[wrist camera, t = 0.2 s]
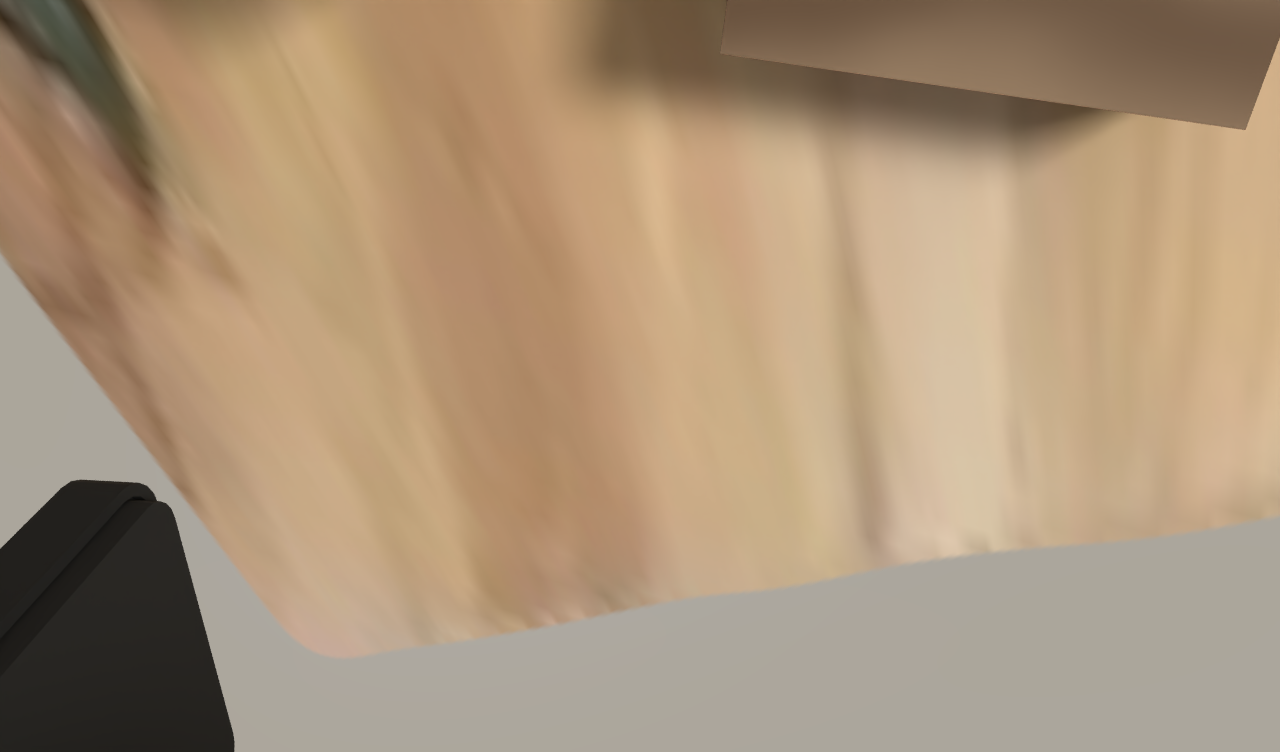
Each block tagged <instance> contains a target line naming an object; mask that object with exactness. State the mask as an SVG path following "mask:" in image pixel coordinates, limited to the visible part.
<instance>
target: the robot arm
mask: <svg viewBox="0 0 1280 752" xmlns="http://www.w3.org/2000/svg"><path fill="white" fill-rule="evenodd" d="M0 752H234V736H233V731H232V727H231V723H230V720H229V716H228V712H227V709H226V705H225V701H224V697H223V694H222V690H221V686H220V683H219V679H218V675H217V672H216V668H215V664H214V660H213V657H212V653H211V649H210V646H209V642H208V638H207V635H206V631H205V627H204V623H203V620H202V616H201V612H200V609H199V605H198V601H197V597H196V594H195V590H194V587H193V583H192V579H191V575H190V572H189V568H188V564H187V561H186V557H185V553H184V550H183V546H182V542H181V539H180V535H179V531H178V527H177V523H176V520H175V517H174V514H173V512H172V509H171V508H170V507H169V506H168V505H167V504H166V503H163V502H160V501H157V500H156V497H155V495H154V493H153V492H152V491H151V490H150V489H149V488H148V487H147V486H146V485H143V484H141V483H132V482H114V481H95V480H76V481H71V482H70V483H68V484H67V485H65V486H64V487H62V488H61V489H60V490H59V491H58V492H57V493H56V494H55V495H54V496H53V497H52V498H51V499H50V500H49V501H48V502H47V503H46V504H45V505H44V506H43V507H42V508H41V509H40V510H39V511H38V512H37V513H36V514H35V515H34V516H33V517H32V518H31V519H30V520H29V521H28V522H27V523H26V524H25V525H24V526H23V527H22V528H21V529H20V530H19V531H18V532H17V533H16V534H15V535H14V536H13V537H12V538H11V539H10V540H9V541H8V542H7V543H6V544H5V545H4V546H3V547H2V548H1V549H0Z"/></svg>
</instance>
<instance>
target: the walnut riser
mask: <svg viewBox="0 0 1280 752" xmlns="http://www.w3.org/2000/svg"><path fill="white" fill-rule="evenodd" d="M1279 38H1280V0H727V7H726V14H725V21H724V28H723V36H722V43H721V50H720V54H724V55H731V56H738V57H744V58H751V59H758V60H765V61H772V62H779V63H786V64H793V65H800V66H807V67H814V68H820V69H827V70H834V71H841V72H848V73H855V74H862V75H869V76H876V77H883V78H890V79H897V80H903V81H910V82H917V83H924V84H931V85H938V86H945V87H952V88H959V89H966V90H973V91H979V92H986V93H993V94H1000V95H1007V96H1014V97H1021V98H1028V99H1035V100H1042V101H1049V102H1055V103H1062V104H1069V105H1076V106H1083V107H1090V108H1097V109H1104V110H1111V111H1118V112H1125V113H1131V114H1138V115H1145V116H1152V117H1159V118H1166V119H1173V120H1180V121H1187V122H1194V123H1201V124H1207V125H1214V126H1221V127H1228V128H1235V129H1242V130H1246V127H1247V124H1248V121H1249V119H1250V116H1251V113H1252V111H1253V108H1254V105H1255V103H1256V100H1257V97H1258V95H1259V92H1260V89H1261V87H1262V84H1263V81H1264V78H1265V76H1266V73H1267V70H1268V68H1269V65H1270V62H1271V60H1272V57H1273V54H1274V52H1275V49H1276V46H1277V44H1278V41H1279Z"/></svg>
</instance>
